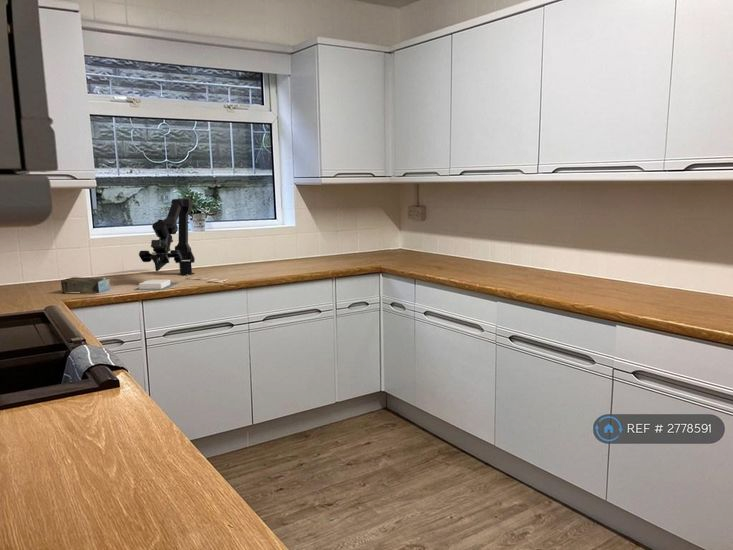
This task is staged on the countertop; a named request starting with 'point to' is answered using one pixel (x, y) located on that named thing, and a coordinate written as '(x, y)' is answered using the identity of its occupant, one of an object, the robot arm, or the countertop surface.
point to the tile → (154, 284)
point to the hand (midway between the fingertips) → (156, 270)
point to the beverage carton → (85, 285)
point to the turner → (207, 279)
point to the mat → (163, 288)
